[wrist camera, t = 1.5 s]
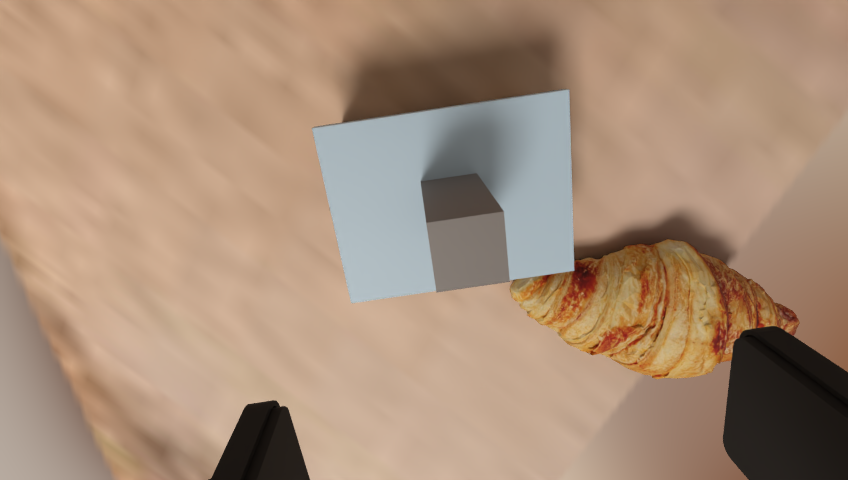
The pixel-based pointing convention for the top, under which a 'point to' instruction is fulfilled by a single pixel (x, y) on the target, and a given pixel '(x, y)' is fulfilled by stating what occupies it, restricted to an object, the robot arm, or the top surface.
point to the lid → (451, 195)
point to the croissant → (652, 308)
